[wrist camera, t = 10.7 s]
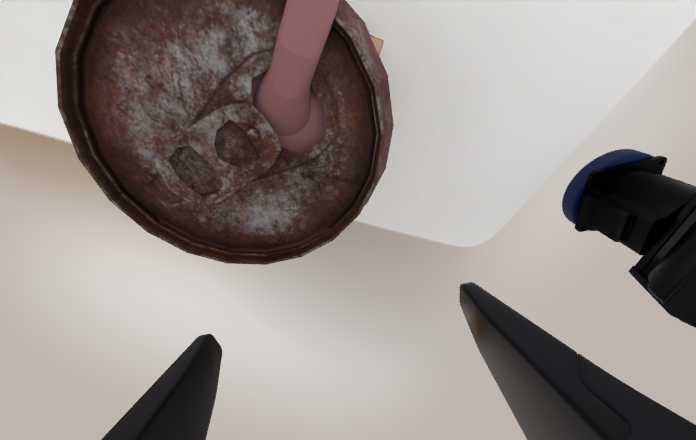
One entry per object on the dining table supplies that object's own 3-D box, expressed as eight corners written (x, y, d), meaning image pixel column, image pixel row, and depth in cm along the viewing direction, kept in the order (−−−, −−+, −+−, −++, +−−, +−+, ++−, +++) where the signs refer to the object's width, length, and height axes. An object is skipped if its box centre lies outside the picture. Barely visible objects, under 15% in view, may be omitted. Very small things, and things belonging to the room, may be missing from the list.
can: (366, 48, 16) (486, 33, 4) (324, 147, 19) (325, 306, 7) (263, -9, 15) (-13, -304, 3) (234, 108, 17) (34, 229, 5)
